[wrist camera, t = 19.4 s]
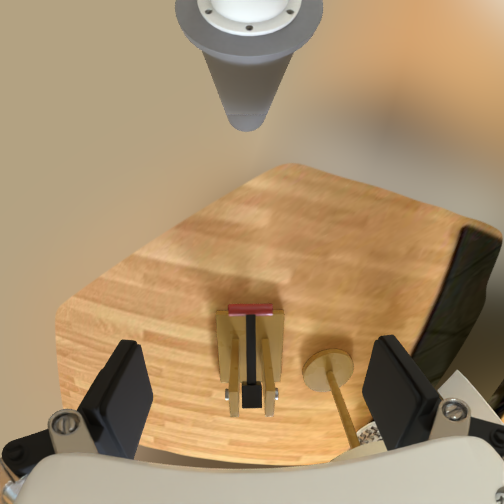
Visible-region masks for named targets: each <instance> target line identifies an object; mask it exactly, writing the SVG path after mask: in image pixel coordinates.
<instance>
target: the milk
mask: <svg viewBox="0 0 504 504" xmlns="http://www.w3.org/2000/svg"><path fill="white" fill-rule="evenodd" d="M438 392H439V393H440V394H441V396H442V397H443V399H447V398H458V399H460V400H463V401H464V402H466V403H467V404H468V406H469V407H470V409H471V417H475V418H478V419H482V420H485V421H489V422H493V423H496V424H500V425H503V426H504V423H503V422H502V421H501V420H500V418H499V417H498V416H497V415H496V413H495V412H494V411H493V410H492V408H491V407H490V406H489V405H488V403H487V402H486V401H485V400H484V399H483V397H481V395H480V394H479V393H478V392H477V390H476V389H475V388H474V387H473V385H472V384H471V383H470V382H469V381H468V380H467V378H466V377H464V376H463V375H462V374H461V373H460V371H458V370H456V371H455V372H454V373H453V374H452V376H451V377H450V378H449V379H448V380H447V381H446V382H445V383H444V384H443V385H442V386H441V387H440V388H439V389H438Z"/></svg>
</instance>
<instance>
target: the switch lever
mask: <svg viewBox="0 0 504 504" xmlns="http://www.w3.org/2000/svg"><path fill="white" fill-rule="evenodd" d="M228 315H229V316H246V369H247V381H242V408H262V385H261V381H256V316H272V315H273V304H272V303H267V304H229V305H228Z"/></svg>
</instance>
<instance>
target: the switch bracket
mask: <svg viewBox="0 0 504 504" xmlns="http://www.w3.org/2000/svg"><path fill="white" fill-rule="evenodd" d="M284 315H285V314H284V310H273V315H272V316H256V381H261V382H262V383H263V395H264V408H265V417H273V416H274V406H275V399H278V388H275V383H274V382H280V380H281V366H282V350H283V334H284ZM216 329H217V343H218V356H219V369H220V380H221V383H229V389H225V399H226V400H229V406H230V417H239V387H240V383H242V381H247V369H246V316H229V315H228V311H216Z"/></svg>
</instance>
